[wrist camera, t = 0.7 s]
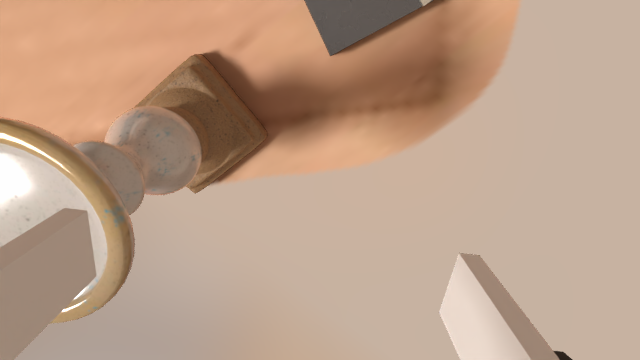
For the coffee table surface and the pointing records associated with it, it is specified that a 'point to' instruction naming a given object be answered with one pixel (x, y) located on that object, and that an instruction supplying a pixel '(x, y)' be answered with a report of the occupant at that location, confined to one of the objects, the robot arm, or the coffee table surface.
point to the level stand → (356, 18)
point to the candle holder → (124, 168)
